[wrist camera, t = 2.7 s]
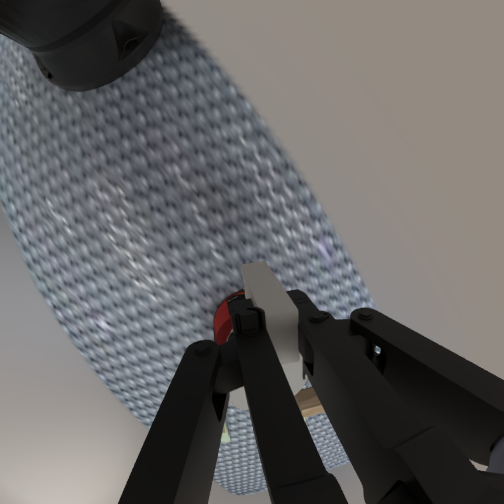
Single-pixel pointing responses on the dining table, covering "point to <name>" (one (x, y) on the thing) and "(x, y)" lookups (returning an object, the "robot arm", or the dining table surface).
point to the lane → (306, 403)
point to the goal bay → (226, 435)
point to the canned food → (225, 333)
